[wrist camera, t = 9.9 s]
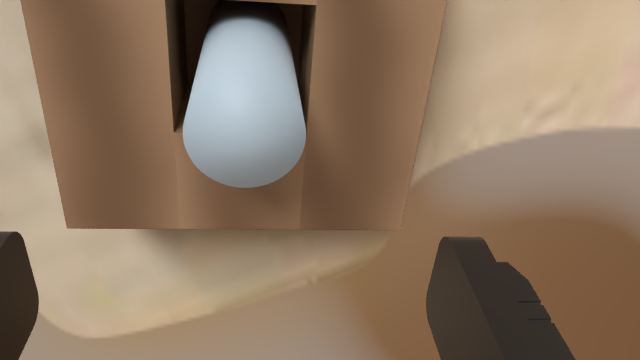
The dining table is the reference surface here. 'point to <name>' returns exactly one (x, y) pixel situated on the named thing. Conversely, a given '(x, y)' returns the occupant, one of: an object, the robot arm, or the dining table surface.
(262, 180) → the dowel
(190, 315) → the dining table surface
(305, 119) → the socket block
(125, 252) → the dining table surface
